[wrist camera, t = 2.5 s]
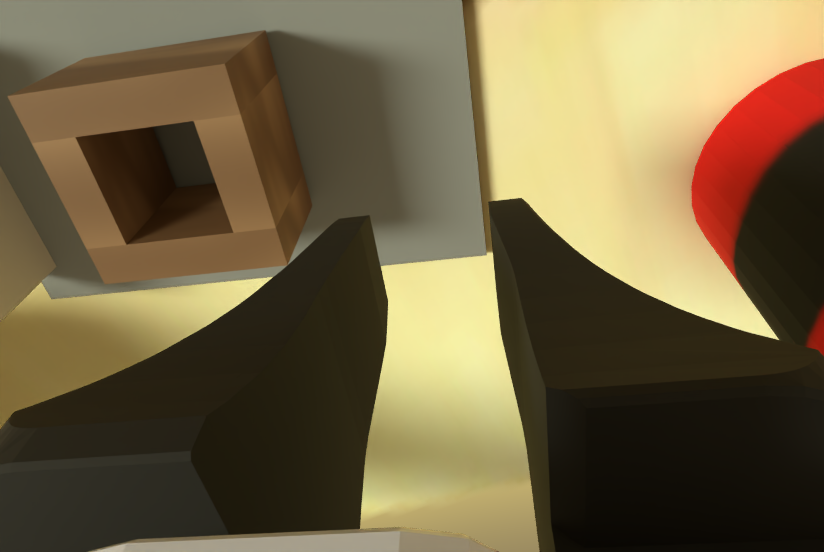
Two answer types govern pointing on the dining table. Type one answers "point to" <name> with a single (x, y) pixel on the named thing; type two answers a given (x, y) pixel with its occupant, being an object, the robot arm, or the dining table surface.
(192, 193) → the block
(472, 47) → the dining table surface
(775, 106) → the soda can
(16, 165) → the mat with wall
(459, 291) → the dining table surface
